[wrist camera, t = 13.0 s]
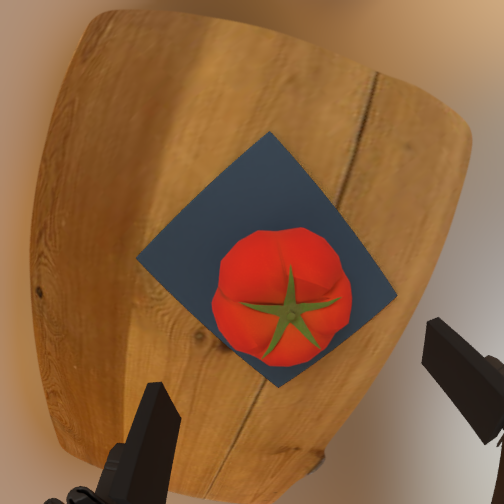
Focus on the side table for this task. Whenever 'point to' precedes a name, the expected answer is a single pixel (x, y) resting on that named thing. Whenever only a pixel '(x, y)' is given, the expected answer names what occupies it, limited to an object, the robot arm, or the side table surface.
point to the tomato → (281, 296)
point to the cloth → (249, 221)
